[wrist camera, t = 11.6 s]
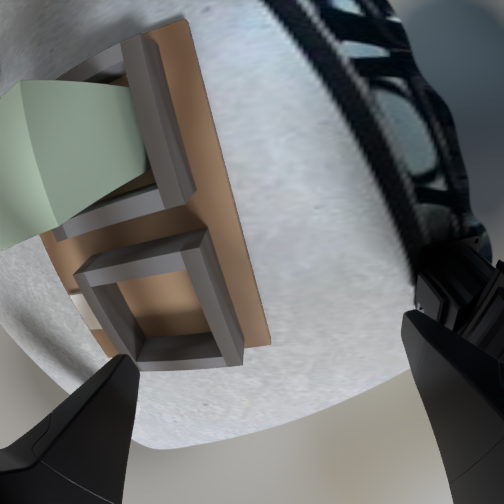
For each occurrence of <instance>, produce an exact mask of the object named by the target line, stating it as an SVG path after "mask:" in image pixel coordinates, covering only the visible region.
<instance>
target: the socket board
mask: <svg viewBox="0 0 504 504" xmlns="http://www.w3.org/2000/svg"><path fill="white" fill-rule="evenodd" d="M56 80H57V81H75V82H88V83H99V84H108V85H116V86H123V87H130V91H131V95H132V99H133V103H134V107H135V111H136V115H137V119H138V122H139V126H140V130H141V133H142V137H143V140H144V144H145V147H146V151H147V154H148V158H149V161H150V164H151V168H152V169H150V170H148V171H147V172H145V173H143V174H141V175H139V176H138V177H136V178H134V179H132V180H131V181H129V182H127V183H125V184H124V185H122V186H120V187H118V188H117V189H115V190H113V191H112V192H110V193H109V194H107V195H105V196H104V197H102V198H100V199H99V200H97V201H96V202H94V203H93V204H91V205H89V206H88V207H86V208H85V209H83V210H82V211H80V212H79V213H77V214H76V215H74V216H73V217H71V218H70V219H69V220H67V221H66V222H64V223H63V224H61V225H60V226H59V227H56V228H54V229H51V230H49V231H46V232H44V233H41V234H39V235H40V237H41V240H42V242H43V244H44V246H45V249H46V251H47V253H48V255H49V257H50V260H51V262H52V264H53V266H54V268H55V270H56V272H57V274H58V276H59V278H60V280H61V282H62V283H63V285H64V287H65V289H66V291H67V293H68V295H69V296H70V298H71V300H72V302H73V303H74V305H75V307H76V309H77V310H78V312H79V314H80V315H81V317H82V319H83V320H84V322H85V323H86V325H87V327H88V328H89V330H90V331H91V333H92V334H93V336H94V338H95V339H96V341H97V342H98V344H99V345H100V346H101V348H102V349H103V351H104V352H105V354H106V355H107V356H108V357H114V356H116V355H117V354H128V355H129V356H130V357H131V359H132V360H133V362H134V363H135V364H136V366H137V367H138V369H139V371H175V370H194V369H208V368H220V367H231V366H240V365H243V354H244V348H251V347H258V346H265V345H271V336H270V333H269V329H268V325H267V321H266V318H265V314H264V310H263V306H262V303H261V299H260V295H259V291H258V288H257V284H256V280H255V276H254V273H253V269H252V265H251V261H250V258H249V254H248V250H247V246H246V242H245V239H244V235H243V231H242V227H241V223H240V220H239V216H238V212H237V208H236V204H235V201H234V197H233V193H232V189H231V185H230V182H229V178H228V174H227V170H226V166H225V162H224V159H223V155H222V151H221V147H220V143H219V139H218V136H217V132H216V128H215V124H214V120H213V116H212V113H211V109H210V105H209V101H208V97H207V93H206V89H205V85H204V82H203V78H202V74H201V70H200V66H199V62H198V58H197V54H196V50H195V47H194V43H193V39H192V35H191V31H190V27H189V23H188V21H187V20H186V19H183V20H180V21H177V22H174V23H172V24H169V25H166V26H163V27H161V28H158V29H156V30H153V31H151V32H148V33H146V34H143V35H141V34H140V33H139V34H137V35H135V36H133V37H130V38H128V39H126V40H124V41H122V42H120V43H118V44H116V45H114V46H112V47H110V48H108V49H106V50H104V51H102V52H100V53H98V54H97V55H95V56H93V57H91V58H89V59H88V60H86V61H84V62H83V63H81V64H79V65H78V66H76V67H74V68H73V69H71V70H70V71H68V72H67V73H65V74H63V75H62V76H60V77H59V78H57V79H56Z"/></svg>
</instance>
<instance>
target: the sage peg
mask: <svg viewBox="0 0 504 504" xmlns="http://www.w3.org/2000/svg"><path fill="white" fill-rule="evenodd" d="M150 169H152V168H151V164H150V161H149V158H148V154H147V151H146V147H145V144H144V140H143V137H142V133H141V130H140V126H139V122H138V119H137V115H136V111H135V107H134V103H133V99H132V95H131V91H130V87H123V86H116V85H108V84H99V83H88V82H75V81H57V80H19V81H18V82H17V83H16V84H15V85H14V86H12V87H11V88H10V89H9V90H8V91H7V92H6V93H5V94H4V95H3V96H2V97H1V98H0V251H2V250H4V249H7V248H9V247H11V246H13V245H15V244H18V243H20V242H22V241H25V240H27V239H29V238H32V237H34V236H36V235H39V234H41V233H44V232H46V231H49V230H51V229H54V228H56V227H59V226H60V225H61V224H63V223H64V222H66V221H67V220H69V219H70V218H71V217H73V216H74V215H76V214H77V213H79V212H80V211H82V210H83V209H85V208H86V207H88V206H89V205H91V204H93V203H94V202H96V201H97V200H99V199H100V198H102V197H104V196H105V195H107V194H109V193H110V192H112V191H113V190H115V189H117V188H118V187H120V186H122V185H124V184H125V183H127V182H129V181H131V180H132V179H134V178H136V177H138V176H139V175H141V174H143V173H145V172H147V171H148V170H150Z"/></svg>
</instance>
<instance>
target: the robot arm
mask: <svg viewBox="0 0 504 504" xmlns="http://www.w3.org/2000/svg"><path fill="white" fill-rule="evenodd" d="M479 247H480V236H478V235H477V234H472V235H468V236H464V237H460V238H456V239H452V240H448V241H443V242H439V243H435V244H430V245H426V246H424V247H423V248H422V250H421V259H420V271H419V274H418V280H417V289H416V306H415V307H416V309H414V310H410V311H406V312H405V313H404V314H403V320H402V328H401V338H402V341H403V344H404V347H405V351H406V354H407V357H408V361H409V364H410V368H411V371H412V375H413V378H414V381H415V384H416V386H417V389H418V391H419V394H420V396H421V399H422V401H423V404H424V407H425V409H426V412H427V415H428V417H429V420H430V423H431V426H432V429H433V432H434V435H435V438H436V441H437V444H438V447H439V451H440V454H441V457H442V460H443V464H444V467H445V471H446V475H447V478H448V482H449V486H450V490H451V495H452V498H453V503H454V504H504V262H503V261H501V260H498V262H497V264H496V268H494V267H493V266H492V265H491V264H490V263H489V262H488V261H487V260H486V259H484V258H483V257H482V256H481V255H480V254H479ZM428 250H429V251H428ZM427 251H428V253H427V254H426V252H427ZM422 311H425V313H426V314H427V315H426V314H424V313H422ZM139 379H140V372H139V369H138V367H137V366H136V364H135V363H134V362H133V360H132V359H131V357H130V356H129V355H128V354H117V355H116V356H114V357H113V358H112V359H111V360H110V361H109V362H108V363H106V364H105V365H104V366H103V367H102V368H101V369H100V370H98V371H97V372H96V373H95V374H94V375H93V376H92V377H90V378H89V379H88V380H87V381H86V382H85V383H84V384H82V385H81V386H80V387H79V388H78V389H77V390H76V391H74V392H73V393H72V394H71V395H70V396H69V397H68V398H67V399H65V400H64V401H63V402H62V403H61V404H60V405H59V406H58V407H56V408H55V409H54V410H53V411H52V413H50V414H49V415H47V416H46V417H45V418H44V419H43V420H42V421H41V422H40V423H38V424H37V425H36V426H35V427H33V428H32V429H31V430H30V431H28V432H27V433H26V434H24V435H23V436H22V437H20V438H19V439H18V440H16V441H15V442H14V443H12V444H11V445H9V446H8V447H6V448H3V449H0V504H122V498H123V489H124V481H125V474H126V467H127V461H128V454H129V448H130V442H131V437H132V431H133V426H134V420H135V415H136V408H137V398H138V388H139Z"/></svg>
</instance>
